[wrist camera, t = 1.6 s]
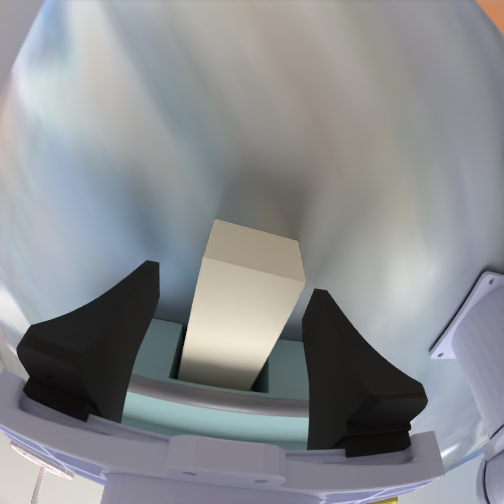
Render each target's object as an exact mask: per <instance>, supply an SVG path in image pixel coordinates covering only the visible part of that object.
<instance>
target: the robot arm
mask: <svg viewBox="0 0 504 504" xmlns="http://www.w3.org/2000/svg"><path fill="white" fill-rule="evenodd" d="M159 297H160V291H159V262H154V261H148V260H147V261H145V262H144V263H143V264H141V265H140V266H139V267H138V268H137V269H135V270H134V271H133V272H132V273H131V274H129V275H128V276H127V277H126V278H124V279H123V280H122V281H121V282H119V283H118V284H117V285H115V286H114V287H113V288H111V289H110V290H109V291H107V292H106V293H104V294H103V295H101V296H100V297H98V298H97V299H95V300H93V301H91V302H90V303H88V304H86V305H84V306H82V307H80V308H78V309H76V310H74V311H72V312H70V313H67V314H65V315H62V316H60V317H57V318H54V319H51V320H48V321H44V322H41V323H37V324H34V325H31V326H30V327H29V329H28V330H27V332H26V333H25V335H24V336H23V338H22V340H21V341H20V343H19V344H18V346H17V348H16V350H17V355H18V357H19V360H20V361H21V363H22V365H23V366H24V368H25V370H26V371H27V373H28V375H29V376H30V377H29V379H28V381H27V382H26V381H25V380H24V379H23V378H21V377H19V376H17V375H16V374H14V373H12V372H10V371H8V370H6V369H3V370H2V371H1V373H0V431H1V432H2V433H3V434H4V435H5V436H6V437H8V438H9V439H11V440H13V441H14V442H16V443H18V444H19V445H21V446H23V447H25V448H26V449H28V450H30V451H32V452H33V453H35V454H37V455H39V456H41V457H43V458H45V459H46V460H48V461H50V462H52V463H54V464H56V465H58V466H60V467H62V468H64V469H66V470H68V471H71V472H73V473H75V474H77V475H79V476H82V477H84V478H86V479H89V480H91V481H94V482H96V483H99V484H101V485H104V486H105V487H104V491H103V495H102V500H101V504H366V503H371V502H375V501H380V500H384V499H388V498H392V497H396V496H400V495H404V494H407V493H411V492H414V491H416V490H418V489H420V488H422V487H424V486H426V485H428V484H430V483H432V482H434V481H436V480H437V479H439V478H441V477H443V476H444V475H445V470H444V466H443V462H442V458H441V455H440V451H439V447H438V444H437V440H436V437H435V433H434V431H429V432H423V433H418V434H414V435H412V436H410V437H409V433H408V431H409V430H411V424H410V421H412V420H413V419H414V418H415V417H416V416H417V415H418V414H420V413H421V412H422V411H423V409H424V408H425V407H426V405H427V403H428V399H427V396H426V393H425V390H424V388H423V385H422V384H421V383H420V382H418V381H416V380H415V379H413V378H411V377H409V376H408V375H406V374H405V373H403V372H402V371H400V370H399V369H398V368H396V367H395V366H393V365H392V364H391V363H390V362H388V361H387V360H386V359H385V358H384V357H382V356H381V355H380V354H379V353H378V352H377V351H376V350H375V349H374V348H373V347H372V346H371V345H370V344H369V343H368V342H367V341H366V340H365V339H364V338H363V337H362V336H361V335H360V334H359V332H358V331H357V330H356V329H355V328H354V326H353V325H352V324H351V323H350V321H349V320H348V319H347V317H346V316H345V315H344V313H343V312H342V311H341V309H340V308H339V306H338V305H337V304H336V302H335V301H334V299H333V298H332V297H331V295H330V294H329V293H328V291H327V290H321V289H314V291H313V294H312V296H311V299H310V301H309V304H308V306H307V309H306V311H305V314H304V316H303V319H302V339H303V346H304V353H305V359H306V366H307V373H308V381H309V426H308V441H307V450H284V449H282V448H280V447H278V446H276V445H271V444H265V443H253V442H242V441H232V440H224V439H217V438H209V437H203V436H196V435H178V436H174V437H172V436H167V435H162V434H158V433H154V432H150V431H145V430H142V429H138V428H134V427H130V426H127V425H123V424H121V421H122V415H123V409H124V404H125V399H126V394H127V390H128V386H129V382H130V378H131V374H132V370H133V366H134V363H135V359H136V356H137V354H138V351H139V349H140V346H141V344H142V342H143V339H144V337H145V335H146V332H147V330H148V328H149V325H150V323H151V321H152V319H153V316H154V314H155V310H156V307H157V304H158V300H159ZM429 356H430V358H431V359H451V358H457V361H458V363H459V365H460V367H461V369H462V371H463V373H464V376H465V378H466V380H467V382H468V385H469V387H470V389H471V392H472V394H473V396H474V399H475V401H476V404H477V406H478V409H479V411H480V414H481V416H482V419H483V422H484V424H485V427H486V430H487V433H488V436H489V439H490V441H489V442H488V443H487V444H485V445H484V446H483V447H482V448H483V451H484V454H485V456H484V458H483V459H482V461H481V463H480V466H479V469H478V473H477V481H476V495H477V500H478V503H479V504H504V275H502V274H498V273H494V272H490V271H486V272H484V273H483V274H482V275H481V277H480V278H479V280H478V282H477V284H476V285H475V287H474V289H473V290H472V292H471V294H470V295H469V297H468V298H467V300H466V302H465V303H464V305H463V306H462V308H461V309H460V311H459V312H458V314H457V315H456V317H455V318H454V320H453V321H452V323H451V324H450V325H449V327H448V328H447V330H446V331H445V332H444V334H443V335H442V337H441V338H440V339H439V341H438V342H437V343H436V345H435V346H434V347H433V348H432V350H431V351H430V353H429Z"/></svg>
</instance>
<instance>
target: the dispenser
mask: <svg viewBox="0 0 504 504" xmlns="http://www.w3.org/2000/svg"><path fill="white" fill-rule="evenodd" d="M182 330H183V324H180V323H175V322H170V321H165V320H160V319H155V318H153V319H152V321H151V323H150V325H149V328H148V330H147V332H146V335H145V337H144V339H143V342H142V344H141V346H140V349H139V351H138V354H137V356H136V359H135V363H134V366H133V370H132V374H131V378H130V382H129V386H128V390H127V394H126V399H125V404H124V409H123V415H122V421H121V424H123V425H127V426H130V427H134V428H138V429H142V430H145V431H150V432H154V433H158V434H162V435H167V436H172V437H174V436H178V435H196V436H203V437H209V438H217V439H224V440H232V441H242V442H253V443H265V444H271V445H276V446H278V447H280V448H282V449H284V450H307V441H308V426H309V381H308V373H307V366H306V359H305V353H304V346H303V342H300V341H291V340H282V339H277V341H276V343H275V345H274V347H273V348H272V350H271V352H270V354H269V356H268V358H267V359H266V361H265V363H264V365H263V367H262V369H261V370H260V372H259V374H258V376H257V377H256V379H255V381H254V383H253V384H252V386H251V388H250V390H249V391H241V390H234V389H226V388H220V387H213V386H207V385H201V384H195V383H190V382H185V381H179V380H178V375H179V369H180V364H181V359H182Z"/></svg>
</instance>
